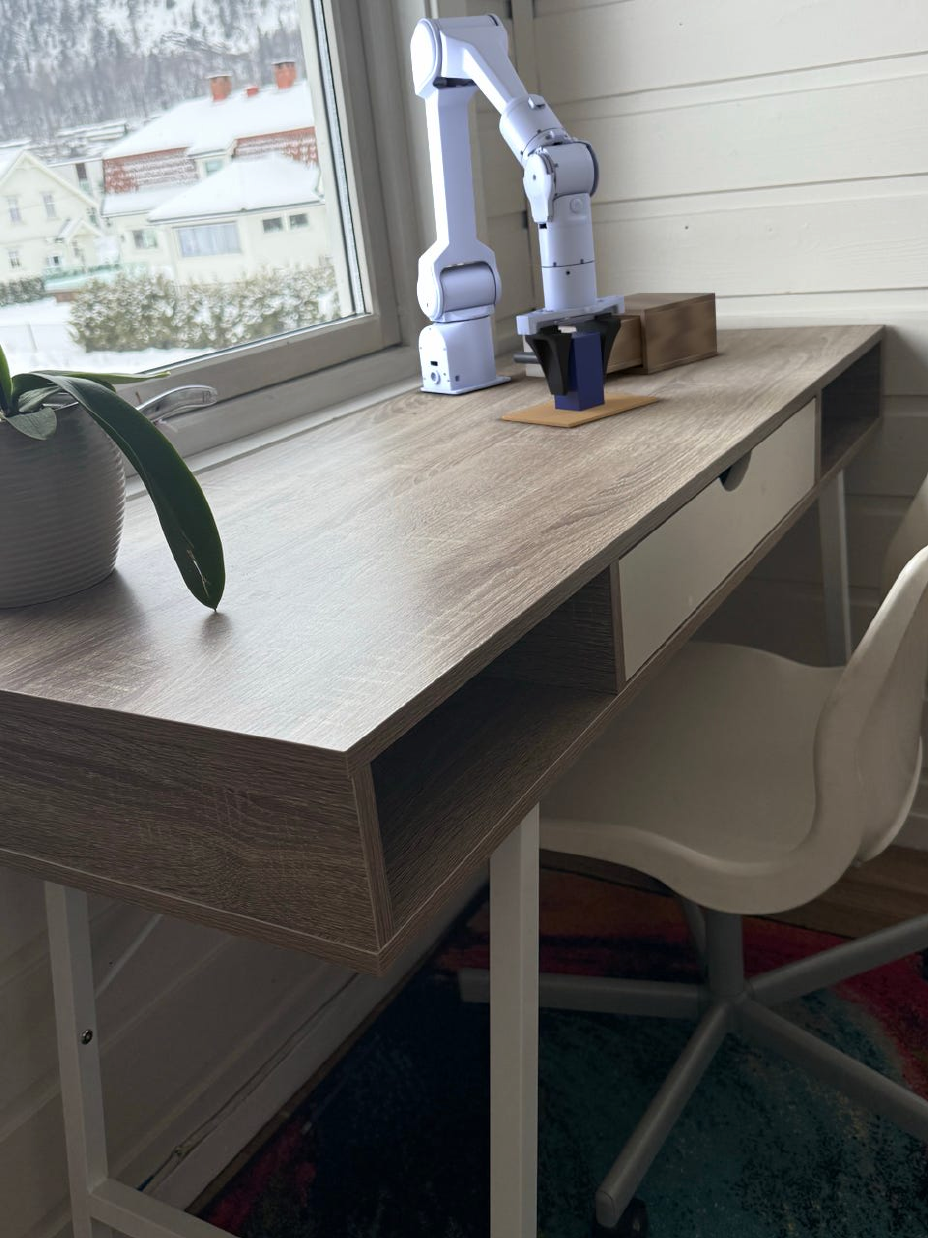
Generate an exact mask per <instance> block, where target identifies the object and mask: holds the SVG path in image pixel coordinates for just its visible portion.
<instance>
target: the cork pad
mask: <svg viewBox="0 0 928 1238" xmlns="http://www.w3.org/2000/svg"><path fill="white" fill-rule="evenodd" d="M604 397H605V404H604V405H600V406H597V407H594V408H590V409H587V410H583V411H570V410H561V409H555V400H554V401H550V402H545V403H543V404H539V405H536V406H532V407H528V408H526V409H522V410H518V411H514V412H511V413H507V414H504V415H501V420H503V421H513V422H519V423H529V424H535V425H544V426H551V427H554V426H555V427H559V428H560V427H561V428H569V429H570V428H573V427H577V426H579V425H583V424H586V423H589V422H592V421H596V420H599V419H602V418H606V417H609V416H612V415H616V414H618V413H622V412H625V411H628V410H632V409H636V408H639V407H642V406H646V405H650V404H652V403H655V402H659V397H658V396H646V395H633V394H625V393H624V394H623V393H613V392H612V393H611V392H604Z"/></svg>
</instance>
